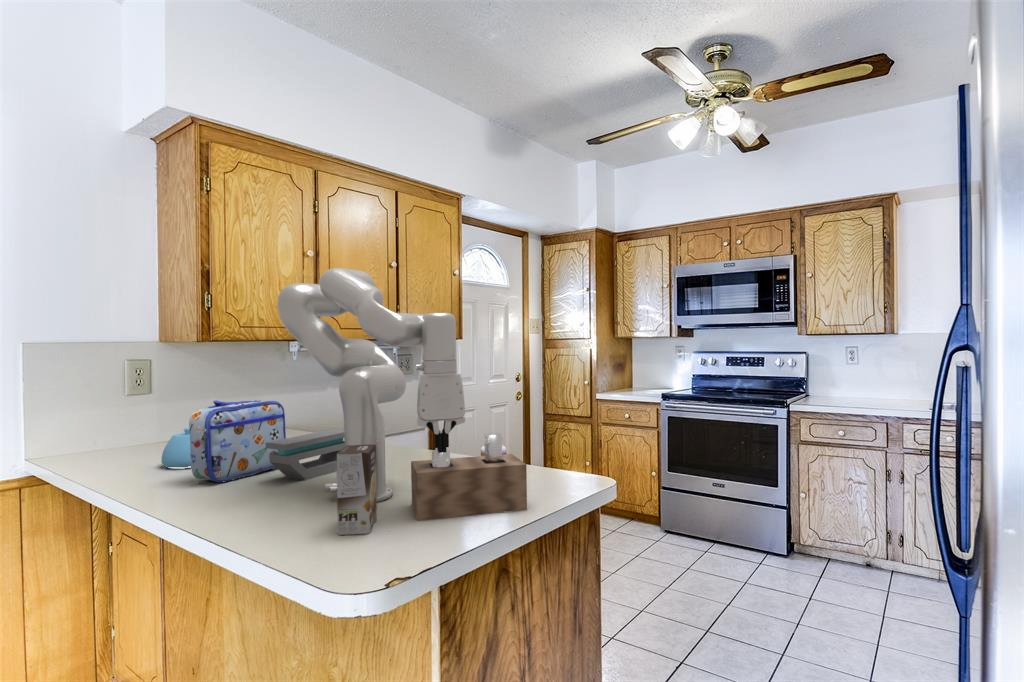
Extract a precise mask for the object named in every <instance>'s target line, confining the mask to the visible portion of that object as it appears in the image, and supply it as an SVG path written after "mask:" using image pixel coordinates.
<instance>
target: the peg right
mask: <svg viewBox="0 0 1024 682" xmlns="http://www.w3.org/2000/svg"><path fill="white" fill-rule="evenodd" d="M483 436H484V437H483V441H484V445H483V446H484V449H485V463H486V464H489V463H502V445H503V440H502V437H503V434H502V433H499V432H498V433H497V432H491V433H490V432H489V433H485V434H484V435H483Z"/></svg>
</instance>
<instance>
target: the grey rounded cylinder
mask: <svg viewBox="0 0 1024 682" xmlns="http://www.w3.org/2000/svg"><path fill="white" fill-rule="evenodd" d="M450 458H451V451H450V449H448V448H446V452H443V451H442V452H438V450H437V449H433V450H432V451H431V460H432V468H438V467H450Z"/></svg>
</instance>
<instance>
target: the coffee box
mask: <svg viewBox="0 0 1024 682" xmlns="http://www.w3.org/2000/svg"><path fill="white" fill-rule="evenodd" d="M336 483H337V492H336V493H337V494H336V495H337V496H336V497H337V500H336V501H337V502H336V503H337V535H339V536H342V535H343V536H344V535H346V536H347V535H368V534H369V533H370V532H371V531H372V528H373V527H374V525H375V523H376V521H377V519H378V518H377V517H378V513H377V512H378V505H377V503H378V502H377V496H376V445H375V444H374V445H348V446H346V447H344V448H343V449H342V450H340V451H339V452H338V453H337V471H336Z"/></svg>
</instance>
